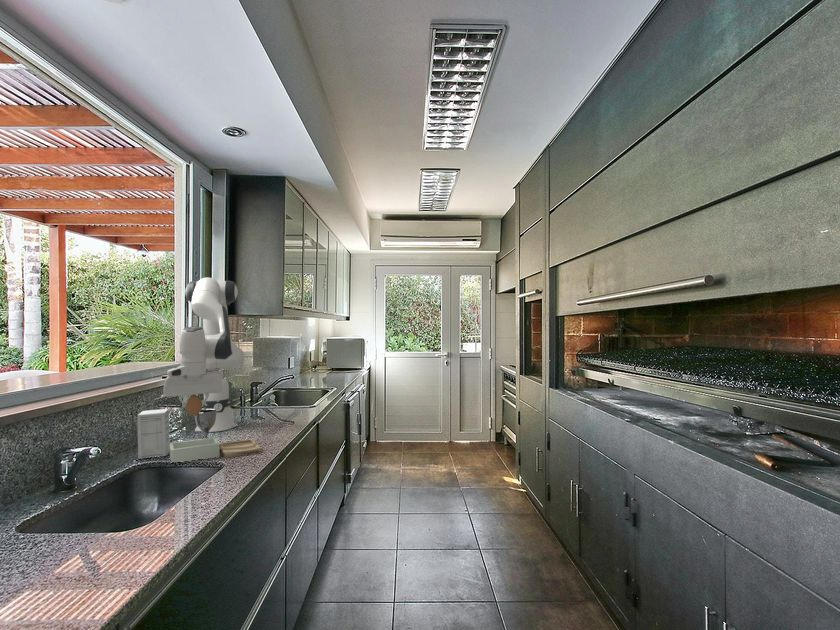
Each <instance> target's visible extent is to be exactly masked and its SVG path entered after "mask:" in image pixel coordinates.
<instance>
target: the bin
mask: <svg viewBox="0 0 840 630" xmlns="http://www.w3.org/2000/svg"><path fill="white" fill-rule="evenodd" d="M219 444H220V442H219V441H218V439H217V437H216V436H213V437H207V438H205V437H204V438H199V439H198V438H197V439H190V440H185V441H184V440H183V441H177V442H175V441H174V442H170V451H169V460H171V462H170V464H171V463H172V462H181V461H189V462H191V461H190V460H196V461H199V460H198V459H203V460H207V459H208V458H209V459H214V458H215V457H216V458H220V456H221V455H220V449H219Z"/></svg>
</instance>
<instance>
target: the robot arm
mask: <svg viewBox="0 0 840 630" xmlns="http://www.w3.org/2000/svg"><path fill="white" fill-rule="evenodd" d="M238 293H239V291H238V286H237V284H236V283H235V282H234V281H232V280H227V279H226V280H221V279H215V278H213V277H202V278H201V279H199V280H192V281H189V282H188V283H187V284H186V287H185V296H186V300H187V301H188V302H189V303H190V304H191V310H192V312H193V313H194V314H195V315H196V316H198V317H199V318H200V319H202V326H186V327H184V328H182V329H181V333H180V342H179V353H180V356H181V357H180V363H179V364H180V365H179V366H175V367H173V368H169V369H168V370H167V371H166V375H167V376H166V378H165V379H164V383H163V391H162V393H163V396H164V397H166V398H167V397H169V398H170V397H178V399H179V401H180V402H181V408H182V409H184V408H186V407H187V406H186V405H187V401H184V400H183V399H184V396H192V395H202V394H203V400H201V404H202V408H203V409H216V421H215V424H214V426H213V427H212V428H211V429H210V431H209V432H208V433H211V432H212V433H213V432H215V433H216V432H221V431H227V430H231V429H232V428H237V427H239V425H238V423H236V422H235V421H234V420H235V417H234V415H235V414H234V409H233V408H232V407H231V398H230V396H229V395H230V390H229V389H230V386H229V381H228V380H226V379H225V378H224V370H234V369H238V368H241V367H242V366H243V364H244V362H245V359H246V357H245V352H244V351H243V350H242V349H241V347H239V346H237V345H236V344H235V343H234V342H233V339H232V336H231V328H230V320H229V316H228V315H229V312H228V306H230V304H232V303H234V302H235V301H236V300H237V297H238ZM203 409H202V410H203ZM236 426H237V427H236ZM194 432H202V430H200V429H199V428H198V426H197V425H196V427H195V429H194Z"/></svg>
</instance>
